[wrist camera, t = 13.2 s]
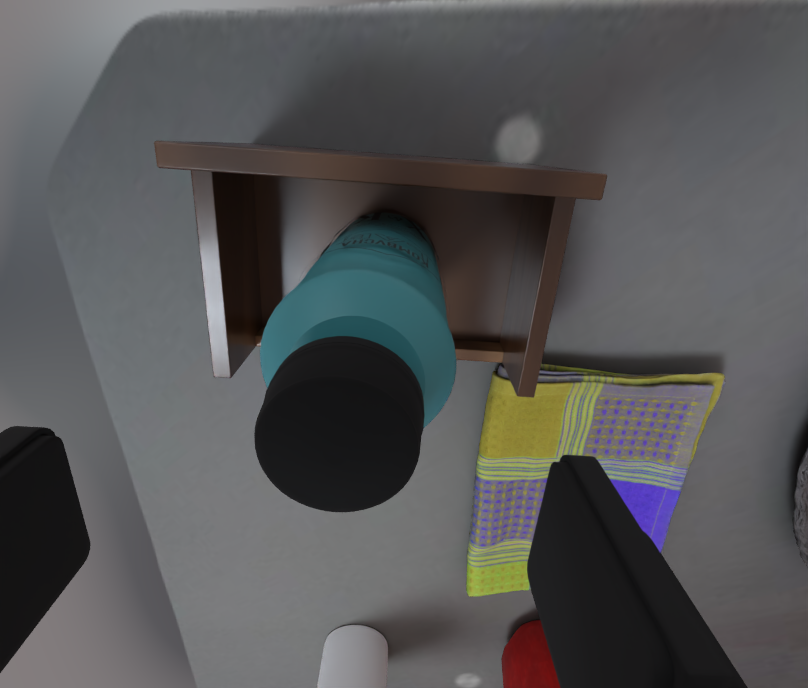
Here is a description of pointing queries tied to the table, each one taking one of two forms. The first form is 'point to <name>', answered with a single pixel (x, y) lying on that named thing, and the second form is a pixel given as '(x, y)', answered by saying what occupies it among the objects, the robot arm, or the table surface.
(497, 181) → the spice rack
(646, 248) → the table surface
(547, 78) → the table surface
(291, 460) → the beverage bottle
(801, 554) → the serving tray
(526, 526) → the dish towel
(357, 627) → the spray bottle
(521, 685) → the apple
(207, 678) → the table surface
